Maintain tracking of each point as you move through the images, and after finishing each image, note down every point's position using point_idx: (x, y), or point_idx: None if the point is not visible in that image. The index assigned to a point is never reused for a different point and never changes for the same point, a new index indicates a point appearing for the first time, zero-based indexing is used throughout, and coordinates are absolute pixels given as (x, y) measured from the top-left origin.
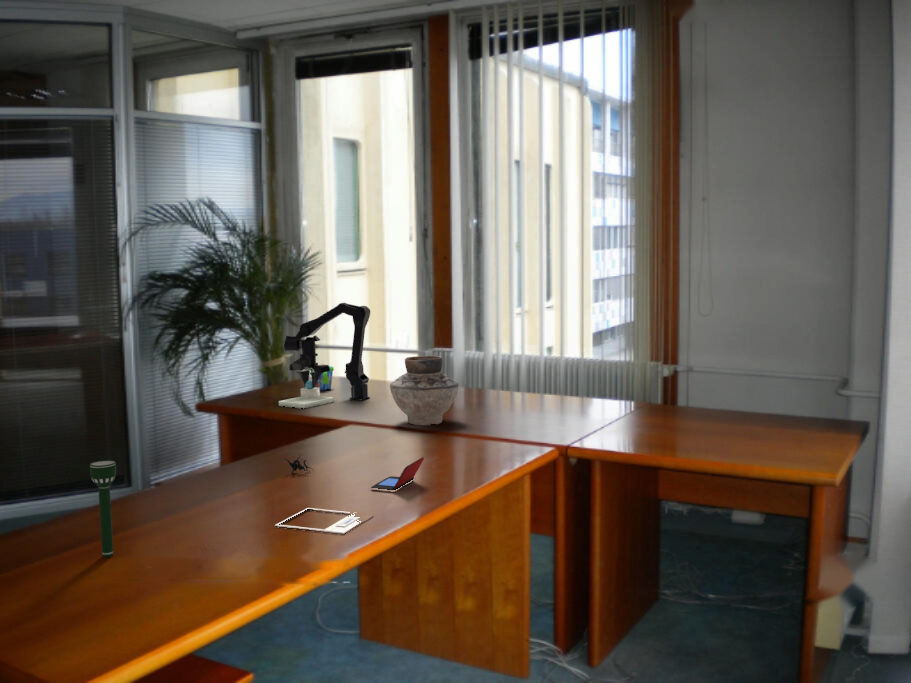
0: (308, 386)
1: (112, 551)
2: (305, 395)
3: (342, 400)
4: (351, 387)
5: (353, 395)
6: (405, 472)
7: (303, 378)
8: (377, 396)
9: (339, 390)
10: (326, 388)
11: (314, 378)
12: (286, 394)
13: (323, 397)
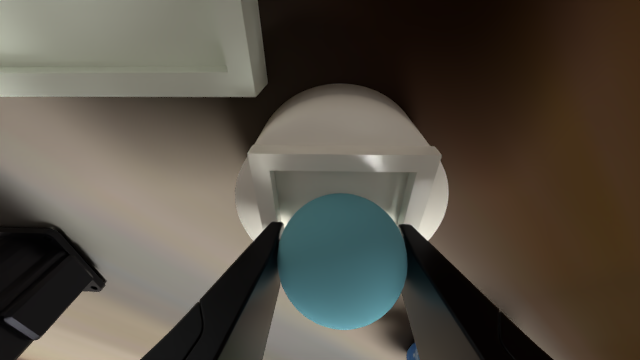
0: (316, 206)
1: None
2: (318, 97)
3: (32, 181)
4: (3, 319)
5: (11, 254)
6: None
7: (480, 340)
8: (76, 315)
9: (352, 348)
10: (413, 349)
11: (152, 356)
12: (637, 194)
13: (5, 72)
